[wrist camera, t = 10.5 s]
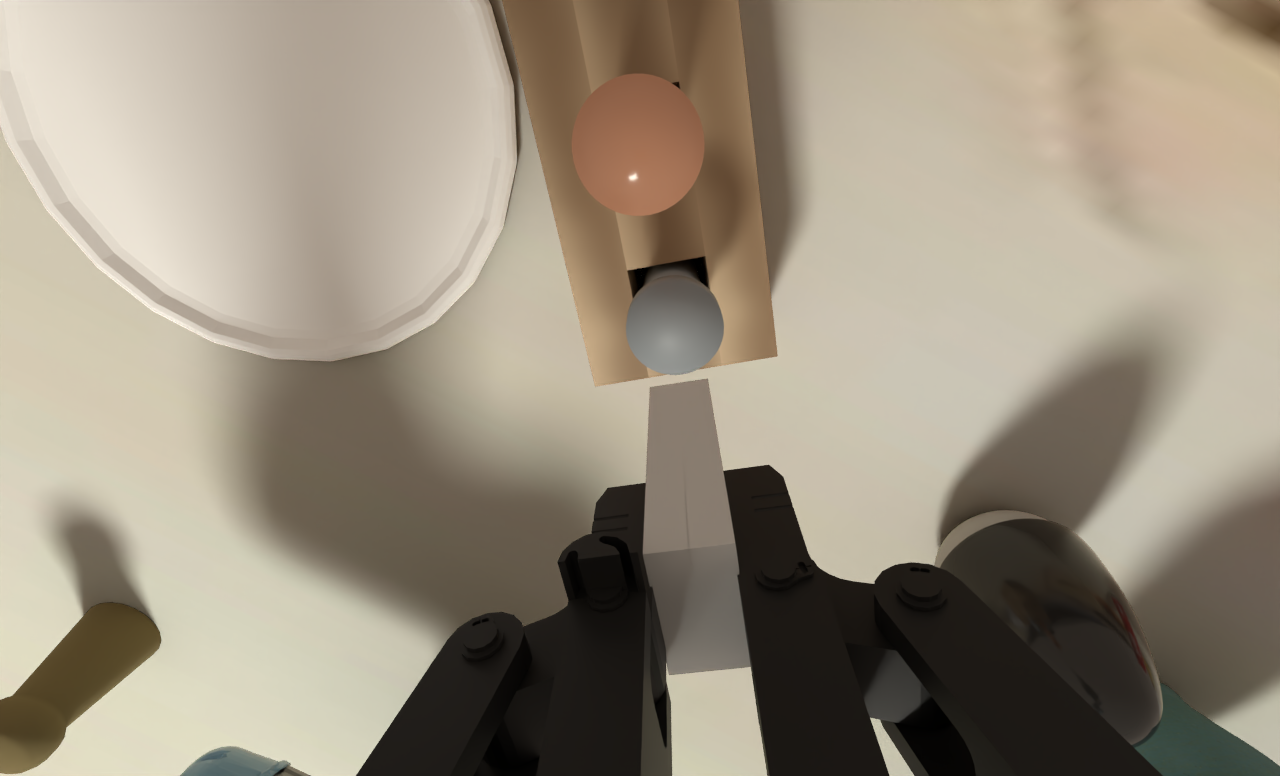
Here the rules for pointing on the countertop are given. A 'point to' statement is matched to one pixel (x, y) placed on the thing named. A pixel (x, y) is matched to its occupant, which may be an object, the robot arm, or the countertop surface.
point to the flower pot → (1199, 745)
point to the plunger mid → (638, 144)
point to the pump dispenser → (1062, 611)
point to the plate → (269, 157)
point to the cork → (72, 682)
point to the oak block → (697, 224)
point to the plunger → (674, 320)
